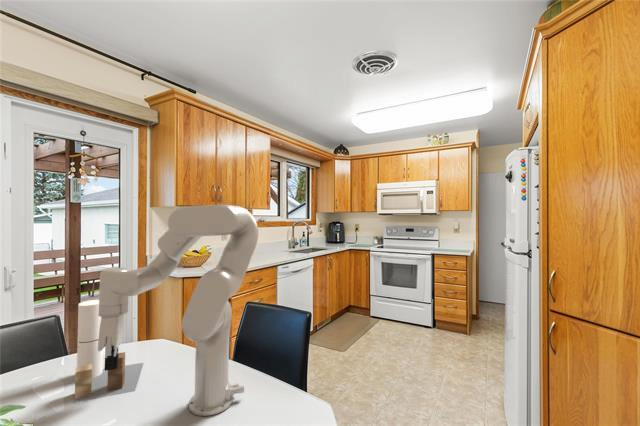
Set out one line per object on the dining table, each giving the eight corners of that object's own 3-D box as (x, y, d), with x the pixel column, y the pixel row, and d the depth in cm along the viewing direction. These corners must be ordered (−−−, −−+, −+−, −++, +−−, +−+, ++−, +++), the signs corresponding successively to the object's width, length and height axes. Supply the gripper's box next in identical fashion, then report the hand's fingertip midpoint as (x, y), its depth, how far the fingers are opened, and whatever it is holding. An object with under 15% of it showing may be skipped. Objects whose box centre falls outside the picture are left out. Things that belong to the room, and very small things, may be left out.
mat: (143, 363, 114) (143, 362, 114) (134, 391, 96) (135, 390, 96) (92, 371, 108) (92, 370, 108) (72, 403, 90) (72, 402, 90)
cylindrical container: (88, 381, 101) (90, 306, 101) (71, 378, 102) (72, 304, 103) (107, 370, 108) (109, 300, 108) (91, 368, 109) (92, 299, 110)
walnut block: (124, 382, 101) (125, 352, 101) (122, 388, 97) (122, 357, 97) (110, 384, 99) (111, 354, 99) (107, 391, 96) (108, 359, 96)
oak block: (90, 388, 97) (91, 363, 97) (91, 394, 94) (91, 368, 94) (74, 393, 94) (75, 367, 94) (74, 399, 91) (75, 372, 91)
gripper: (105, 303, 98) (103, 359, 98) (91, 317, 85) (88, 383, 84) (132, 301, 101) (129, 356, 101) (123, 315, 88) (120, 378, 87)
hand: (111, 368), depth 93 cm, fingers closed
